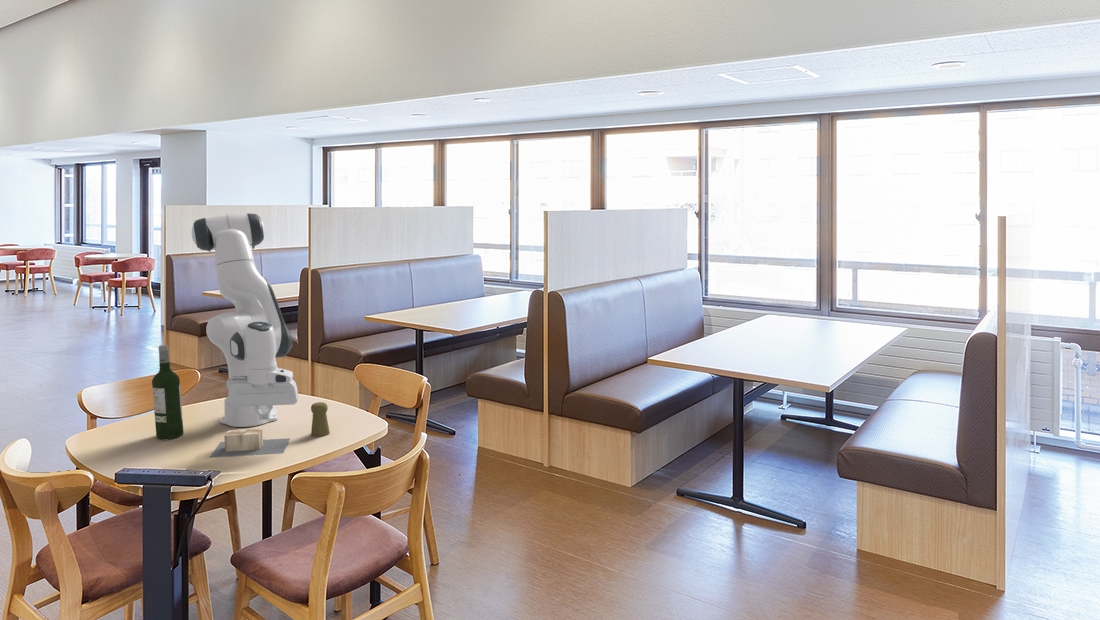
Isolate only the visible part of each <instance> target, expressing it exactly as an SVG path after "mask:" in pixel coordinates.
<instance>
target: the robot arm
mask: <svg viewBox="0 0 1100 620" xmlns="http://www.w3.org/2000/svg"><path fill="white" fill-rule="evenodd" d="M265 235H266V226H265V222H264V221H263V220H262V217H261V216H260V215H258V214H256V213H251V212H249V213H248V212H247V214H246V213H245V214H244V213H230V214H229V213H228V214H226V215H218V216H217V215H216V216H211V217H207V218H206V217H203V218H199V219H197V220H195V221H194V222H193V224H192V228H191V238H192V240H193V243H194V244H195V245H196V248H198V249H200V250H201V251H206V252H212V250H213V251H214V250H215V252H214V261H215V262H214V263H215V269H216V270H215V271H216V275H217V277H216V278H217V282H218V289H219V294H220V295H221V297H223V298H224V299H226V300H228V301H230V302H231V303H232V305H233V306H234V307H235V310H236V311H229V312H223V313H220V314H217V315H216V316H213V317H211V318H210V319H209V320H208V321H207V324H206V329H205V330H206V332H205V333H206V336H207V338H208V339H209V341H210V342H211V343H212V344H213V345H215V346H216V347H218V348H219V349H220V350H221V352H222V353H223V355H224V357H225V359H226V364H227V370H228V371H227V373H228V379H227V380H226V389H227V391H228V393H227V397H225V399H224V405H223V406H224V408H223V409H224V417H222V418H220V419H219V424H225V425H227V426H230V427H238V428H244V427H245V428H247V427H256V426H261V425H263V424H264V425H265V424H267V423H269V422H274V421H277V420H279V418H278V412H277V406H287V405H288V406H291V405H296V404H297V402H298V401H299V392H298V391H299V390H298V386H297V383H296V381H295V380H294V379H293V378H294V373H293V371H291V370H288V369H285V368H280V367H278V362H277V360H276V359H277V358H279V359H280V358H285V357H286V356H287V354H289V353H290V352H291V350H292V349H293V337H292V335H291V333H290V330H289V328H288V326H287V324H286V321H285V320H284V316H283V314H282V311H281V308H280V306H279V303H278V300H277V298H276V295H275V292H274V289H273V287H272V285H271V283H270V282H269V280H268V279H267V278H265V277H263V276H262V275H261V274H260V272H259V270H258V269H257V266H256V264H255V258H254V254H253V250H254V249H255V247H256V246H258V245H260V244H261V243H262V242H263V241H264V238H265Z"/></svg>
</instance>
